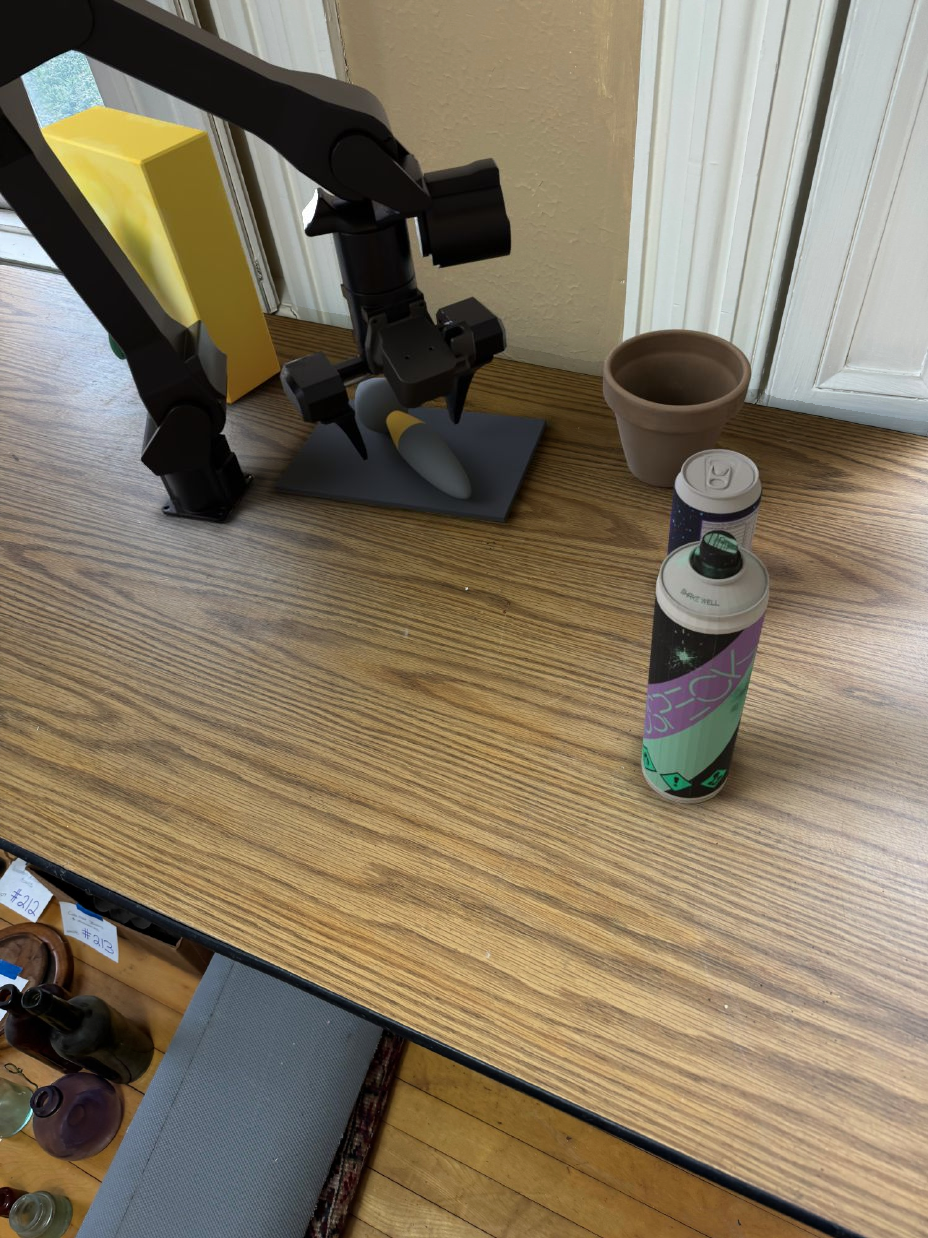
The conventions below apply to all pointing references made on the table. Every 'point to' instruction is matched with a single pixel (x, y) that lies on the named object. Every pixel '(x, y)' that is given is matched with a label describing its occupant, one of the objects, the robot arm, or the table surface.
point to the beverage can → (715, 498)
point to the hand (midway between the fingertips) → (410, 439)
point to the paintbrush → (411, 437)
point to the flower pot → (672, 397)
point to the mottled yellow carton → (171, 227)
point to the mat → (479, 442)
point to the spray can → (701, 664)
